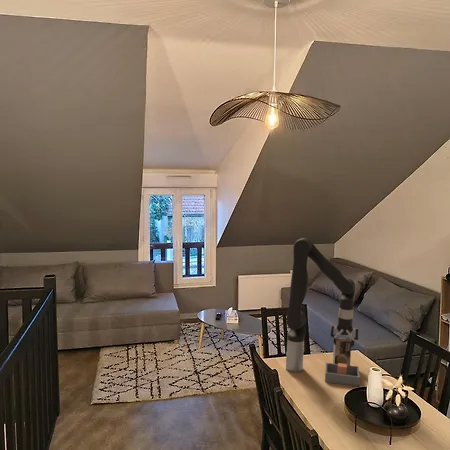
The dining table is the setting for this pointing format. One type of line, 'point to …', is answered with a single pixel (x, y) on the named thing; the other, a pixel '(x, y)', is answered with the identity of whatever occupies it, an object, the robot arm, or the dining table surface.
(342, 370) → the juice box
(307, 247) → the robot arm
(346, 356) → the coffee box
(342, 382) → the tote
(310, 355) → the dining table surface
